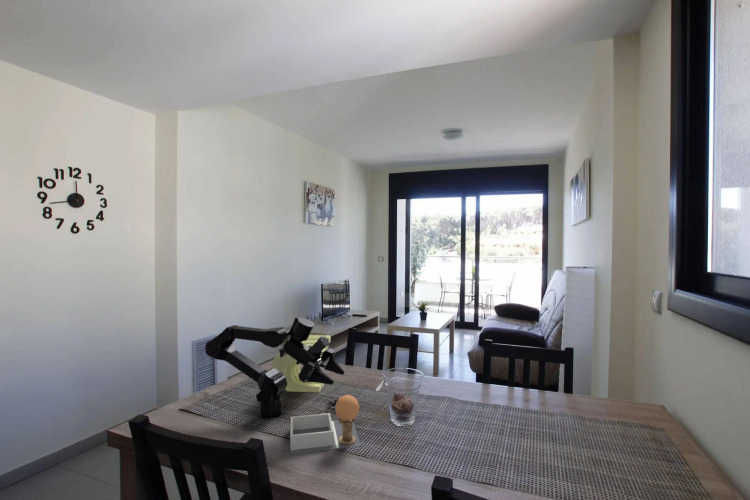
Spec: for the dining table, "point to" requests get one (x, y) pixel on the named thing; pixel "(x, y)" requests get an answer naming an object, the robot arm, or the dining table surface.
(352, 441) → the ball tee
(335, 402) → the creature
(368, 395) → the dining table surface
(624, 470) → the dining table surface
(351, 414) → the ball
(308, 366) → the robot arm
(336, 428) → the grey flat plate
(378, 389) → the fork
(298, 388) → the slatted curved stool
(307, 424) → the tray
